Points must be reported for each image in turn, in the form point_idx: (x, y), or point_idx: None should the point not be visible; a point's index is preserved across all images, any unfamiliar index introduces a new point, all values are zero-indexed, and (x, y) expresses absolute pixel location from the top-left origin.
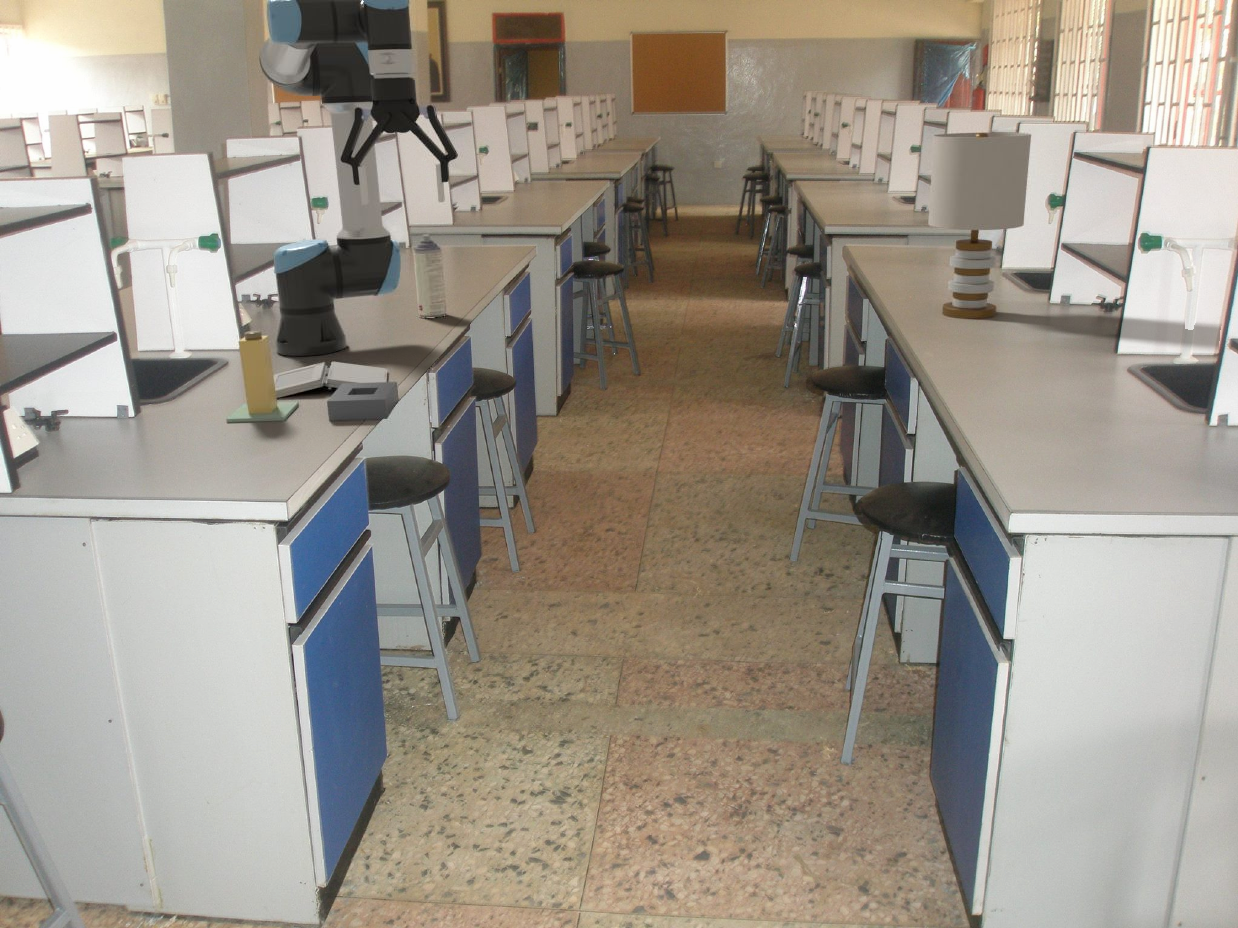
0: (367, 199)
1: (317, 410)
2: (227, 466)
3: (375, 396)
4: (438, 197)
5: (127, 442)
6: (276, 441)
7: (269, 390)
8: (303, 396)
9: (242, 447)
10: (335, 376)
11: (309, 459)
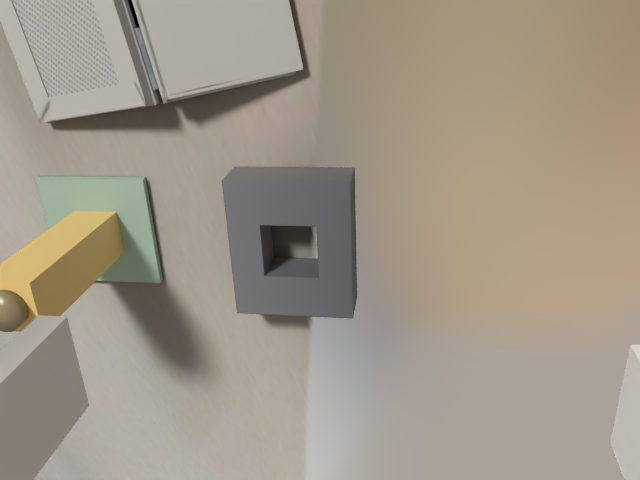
0: (58, 366)
1: (199, 220)
2: (177, 474)
3: (327, 295)
4: (623, 470)
5: None
6: (199, 386)
7: (102, 267)
8: None
9: (158, 404)
10: (169, 61)
11: (282, 468)
